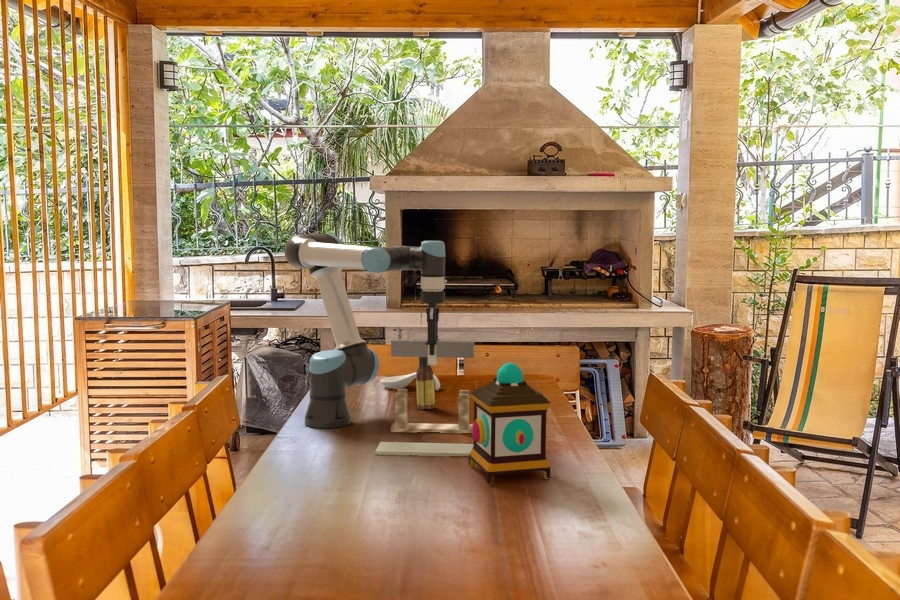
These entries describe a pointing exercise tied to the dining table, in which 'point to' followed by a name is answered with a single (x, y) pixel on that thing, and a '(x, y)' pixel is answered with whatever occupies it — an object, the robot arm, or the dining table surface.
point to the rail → (443, 348)
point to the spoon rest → (404, 381)
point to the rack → (403, 426)
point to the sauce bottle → (425, 385)
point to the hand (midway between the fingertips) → (432, 363)
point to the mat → (423, 449)
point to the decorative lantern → (509, 426)
